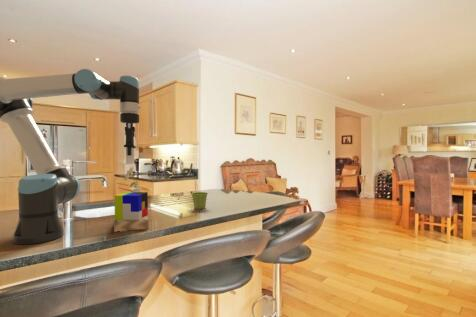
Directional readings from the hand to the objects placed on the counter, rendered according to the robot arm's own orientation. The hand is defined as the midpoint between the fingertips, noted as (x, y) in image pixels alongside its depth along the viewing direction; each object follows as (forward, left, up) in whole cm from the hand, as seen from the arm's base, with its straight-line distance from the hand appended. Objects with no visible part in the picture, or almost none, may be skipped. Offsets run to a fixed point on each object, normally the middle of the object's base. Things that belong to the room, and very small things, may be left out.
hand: (130, 163), depth 117 cm
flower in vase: (+1, +22, -27) cm, 35 cm away
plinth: (0, 0, -27) cm, 27 cm away
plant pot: (+35, +28, -27) cm, 53 cm away
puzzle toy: (0, 0, -23) cm, 23 cm away
